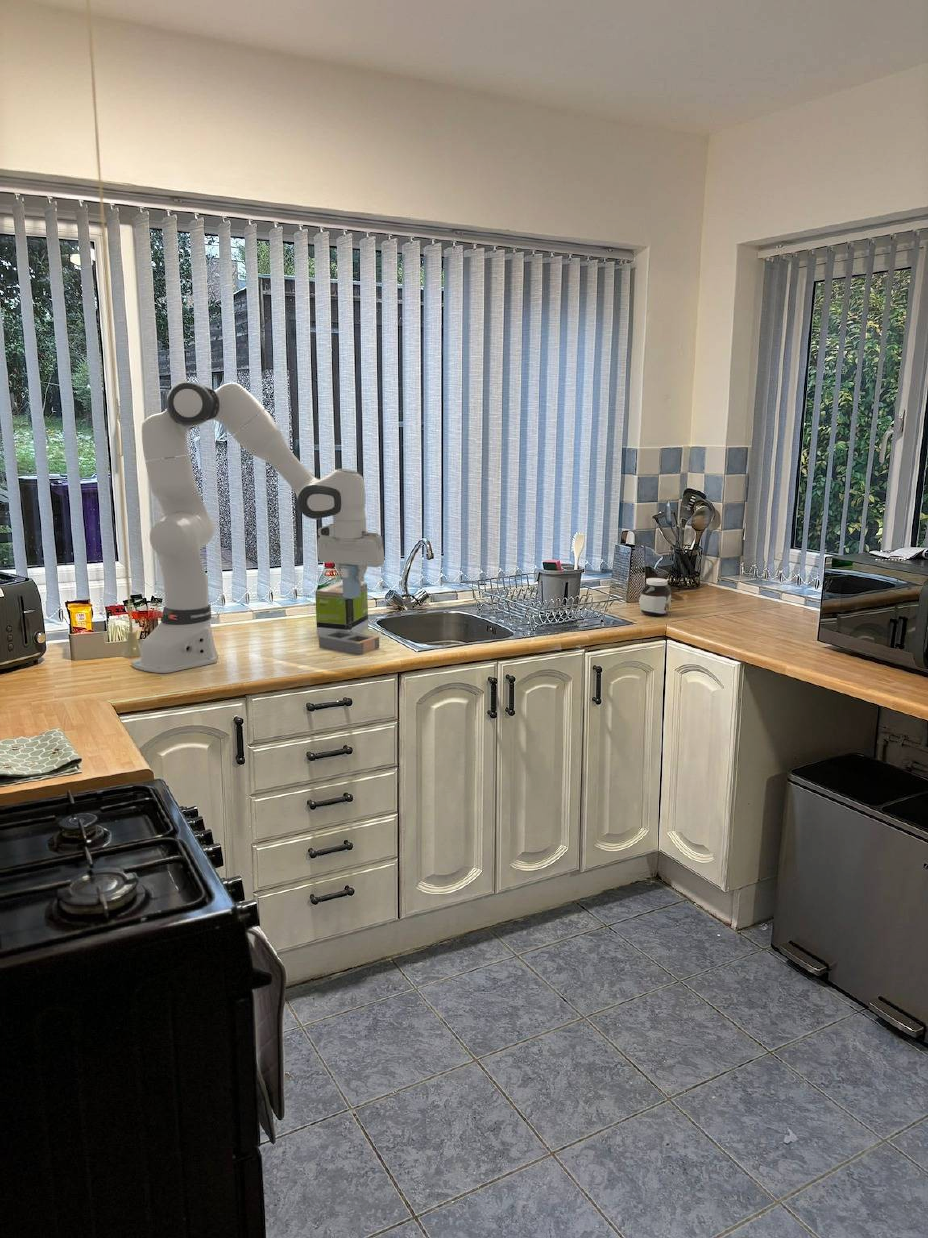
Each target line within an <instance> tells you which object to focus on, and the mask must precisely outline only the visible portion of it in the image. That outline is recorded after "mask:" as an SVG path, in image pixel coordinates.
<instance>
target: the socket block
mask: <svg viewBox="0 0 928 1238" xmlns="http://www.w3.org/2000/svg"><path fill="white" fill-rule="evenodd" d="M318 647H319V648H321V649H326V650H332V651H337V652H342V653H347V654H352V655H356V656H360V655H363V654H366V653H369V652H371V651H374V650H377V649H380V636H378V635H377V636H374V635H368V634H363V633H353V632H347V631H342V630H339V631H336V632H332V633H329V634H326V635H322V636H318Z"/></svg>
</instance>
